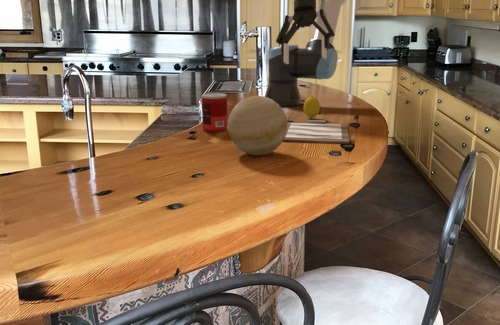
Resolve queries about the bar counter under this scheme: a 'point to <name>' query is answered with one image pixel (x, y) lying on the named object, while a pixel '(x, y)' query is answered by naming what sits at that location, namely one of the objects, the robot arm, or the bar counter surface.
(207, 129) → the canned food
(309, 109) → the lemon
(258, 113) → the decorative ball
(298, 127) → the clipboard
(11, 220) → the bar counter surface
